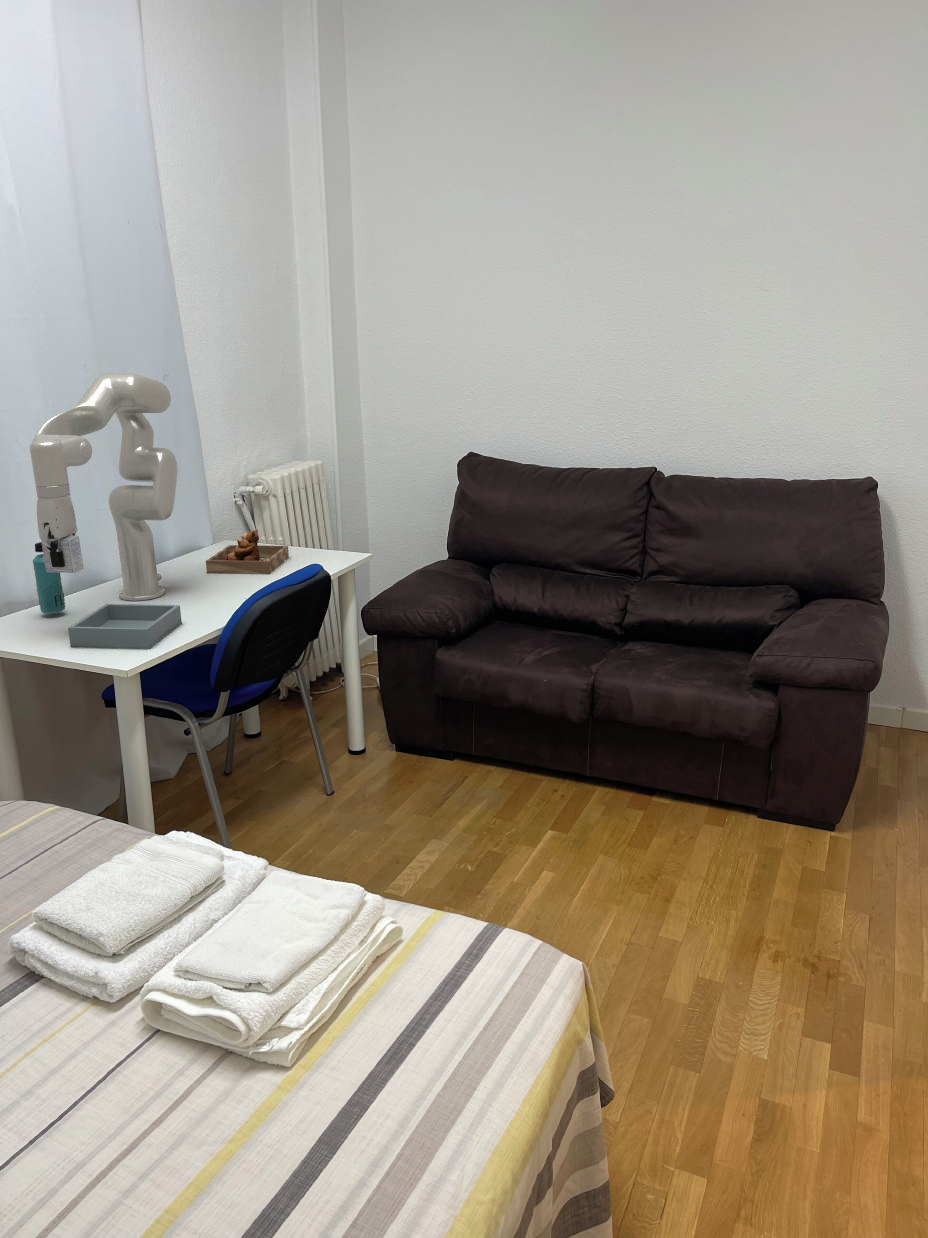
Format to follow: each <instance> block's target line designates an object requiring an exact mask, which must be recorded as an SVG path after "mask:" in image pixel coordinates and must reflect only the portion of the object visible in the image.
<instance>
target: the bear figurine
mask: <svg viewBox="0 0 928 1238" xmlns="http://www.w3.org/2000/svg"><path fill="white" fill-rule="evenodd" d="M258 532H259V530H258V529H255V530H254V529H253V530H251V531H249V532H245V533H243V534H242V536H241V539H237V544H236V545H237V546H236V548H235V549H234V552H232V553H229V554H228V555H227V556H226V557H225V559H224V560H236V561H267V560H268V559H269V558H266V557H260V556H259V550H258V545H259V544H258V543H259V542H258V541H260V540H259V539H260V537H259V533H258Z"/></svg>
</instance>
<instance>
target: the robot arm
mask: <svg viewBox="0 0 928 1238" xmlns="http://www.w3.org/2000/svg"><path fill="white" fill-rule="evenodd" d="M171 400H172V398H171V392H170V390H169V388H168V387H167V385H165V383H164V382H162V381H159V380H157V379H154V378H153V379H152V378H151V377H147V376H144V375H140V374H135V373H111V374H110V373H107V374H105V373H104V374H102V375H99V376H98V377H97V378H95V380H94V381H93V382H92V384H91V385H90V386H89V387H88V388H87V391H86V392H85V393H84V395H83V396H82V397H81V398H80V399H79V401H78V402H77V404H76V405H74V406H72V407H70V408H68V409H66V410H63V411H62V412H59V414H56V415H54V416H53V417H52V418H49V419H48V420H47V421H46V422H44V423H43V425H41V427H40V428H39V430H38V431H37V432H36V434H35V436H34V437H33V439H32V441H31V443H30V445H29V453H30V458H31V459H30V460H31V464H32V472H33V477H34V485H35V490H36V491H35V492H36V498H37V499H36V521H37V529H38V531H37V532H38V536H39V539H40V540H41V539H42V544H44V545H45V546H46V547H47V548H48V551H49V552H50V558H51V564H52V567H64V566H65V563H64V556H63V551H61V539H62V538H64V537H66V536H69V535H71V536H76V534H77V532H78V527H77V521H76V514H75V508H74V506H73V505H74V504H73V502H72V497H71V489H70V482H69V475H68V467H81V466H83V465H85V464H87V463H88V462H89V461H90V459H91V458H92V455H93V446H92V444H91V442H90V441H89V440H88V439H87V438H85V437H83V436H86V435H90V434H93V433H96V432H98V431H99V432H100V431H101V430H103V429H104V428H105V427H106V426H107V425H108V424H109V421H111V419H112V417H113V416H114V414H115V415H116V416H117V418H118V421H119V423H120V426H121V443H120V451H119V461H118V462H119V463H118V472H119V475H120V477H121V478H123V480H126V481H129V482H138V483H139V482H141V483H142V482H143V483H153V485H141V484H139V485H137V484H136V485H135V484H131V485H130V484H128V485H126V484H125V485H124V484H123V485H120V486H117V487H115V488H113V489H112V490H111V491H110V494H109V496H108V506H109V510H110V512H111V516H112V519H113V521H114V522H113V523H114V525H115V526H114V527H115V532H116V537H117V538H116V539H117V545H118V553H119V554H118V555H119V562H120V568H121V569H120V570H121V577H122V584H123V585H122V586H123V589H122V590H120V591H119V592H118V597H119V599H121V600H123V601H135V602H137V601H138V602H139V601H147V600H152V599H156V598H160V597H162V596H164V594H165V593H166V590H165V587H163V586H161V585H159V581H160V580H162V578H163V577H162V575H161V574H160V573H158V571H157V562H156V561H157V559H156V553H155V551H156V550H155V543H154V535H153V531H152V529H151V527H150V525H149V524H148V522H147V521H165V520H167V519H170V517H171V516H172V513H173V511H174V507H175V497H176V489H177V481H178V480H177V479H178V462H177V458H176V456H175V453H173V451H171V450H170V449H168V448H165V447H154V439H155V435H154V434H155V433H154V428H153V426H152V425H151V423H150V422H149V420H148V419H147V418H146V416H145V415H144V414H162V413H164V412H166V411H167V410H168V409H169V408H170V405H171ZM52 536H54V538H55V539H52ZM52 541H56V545H55V544H54V543H52Z"/></svg>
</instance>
